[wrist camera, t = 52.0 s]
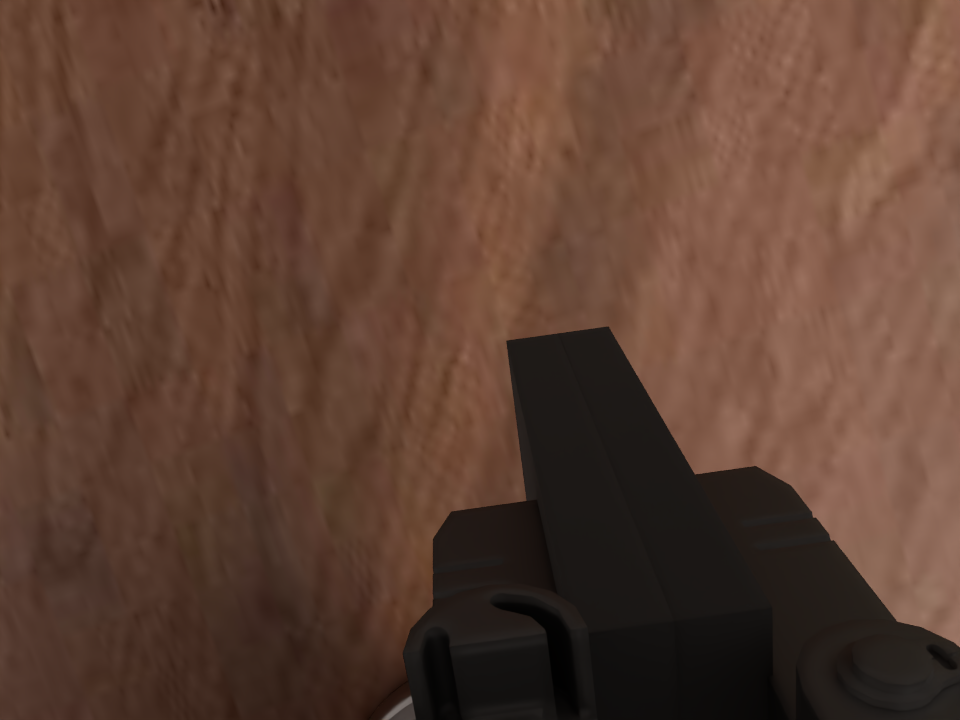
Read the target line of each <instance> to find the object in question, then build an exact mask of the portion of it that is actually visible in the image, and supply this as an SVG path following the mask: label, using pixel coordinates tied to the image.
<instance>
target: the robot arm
mask: <svg viewBox="0 0 960 720" xmlns="http://www.w3.org/2000/svg"><path fill="white" fill-rule="evenodd" d="M507 349H508V357H509V365H510V373H511V381H512V389H513V397H514V405H515V413H516V420H517V428H518V436H519V444H520V452H521V460H522V468H523V476H524V484H525V492H526V499H527V501H524V502H517V503H510V504H502V505H495V506H488V507H481V508H474V509H466V510H459V511H452V512H451V513H450V514H449V516H448V517H447V519H446V520H445V522H444V523H443V525H442V526H441V528H440V529H439V531H438V532H437V534H436V535H435V537H434V538H433V572H434V574H433V598H434V600H433V607H432V608H430V609H429V610H428V611H427V612H426V613H425V614H424V615H423V616H422V618H421V619H420V620H419V621H418V622H417V623H416V624H415V625H414V626H413V627H412V628H411V630H410V633H409V636H408V639H407V642H406V645H405V648H404V651H403V657H404V662H405V667H406V672H407V677H408V682H406V683H405V684H403V685H402V686H400V687H399V688H398V689H397V690H395V691H394V692H393V693H392V694H390V695H389V696H388V697H387V698H386V699H385V700H384V701H383V702H382V703H381V704H380V705H379V707H378V708H377V709H376V710H375V712H374V713H373V714H372V715H371V717H370V719H369V720H960V647H959V646H957V645H956V644H955V643H954V642H952V641H949V640H947V639H945V638H943V637H941V636H939V635H937V634H934V633H932V632H930V631H928V630H926V629H924V628H922V627H918V626H913V625H909V624H904V623H900V622H897V621H896V619H895V618H894V617H893V616H892V614H891V613H890V612H889V610H888V609H887V608H886V607H885V605H884V604H883V603H882V602H881V600H880V599H879V598H878V596H877V595H876V594H875V593H874V591H873V590H872V589H871V587H870V586H869V585H868V584H867V582H866V581H865V580H864V578H863V577H862V576H861V575H860V573H859V572H858V571H857V569H856V568H855V567H854V566H853V564H852V563H851V562H850V561H849V559H848V558H847V557H846V555H845V554H844V553H843V552H842V550H841V549H840V548H839V546H838V545H837V544H836V543H835V541H834V540H833V541H831V540H830V537H829V534H828V532H827V531H826V530H825V528H824V527H823V526H822V525H821V523H820V522H819V521H818V520H817V518H813V516H812V512H811V511H810V509H809V508H808V507H807V505H806V504H805V503H804V502H803V500H802V499H801V498H800V496H799V495H798V494H797V493H796V491H795V490H794V489H793V488H792V486H791V485H789V484H787V483H785V482H783V481H782V480H780V479H778V478H776V477H774V476H773V475H771V474H769V473H767V472H765V471H764V470H762V469H760V468H758V467H757V466H753V467H746V468H739V469H732V470H724V471H717V472H710V473H703V474H696V475H695V474H694V472H693V471H692V469H691V467H690V466H689V464H688V462H687V460H686V459H685V457H684V455H683V454H682V452H681V450H680V448H679V447H678V445H677V443H676V442H675V440H674V438H673V436H672V435H671V433H670V431H669V430H668V428H667V426H666V424H665V423H664V421H663V419H662V418H661V416H660V414H659V412H658V411H657V409H656V407H655V406H654V404H653V402H652V400H651V399H650V397H649V395H648V394H647V392H646V390H645V388H644V387H643V385H642V383H641V382H640V380H639V378H638V376H637V375H636V373H635V371H634V370H633V368H632V366H631V364H630V363H629V361H628V359H627V358H626V356H625V354H624V352H623V351H622V349H621V347H620V346H619V344H618V342H617V340H616V339H615V337H614V335H613V334H612V332H611V330H610V328H609V327H602V328H595V329H588V330H580V331H573V332H566V333H559V334H552V335H544V336H537V337H530V338H523V339H516V340H508V341H507Z"/></svg>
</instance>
